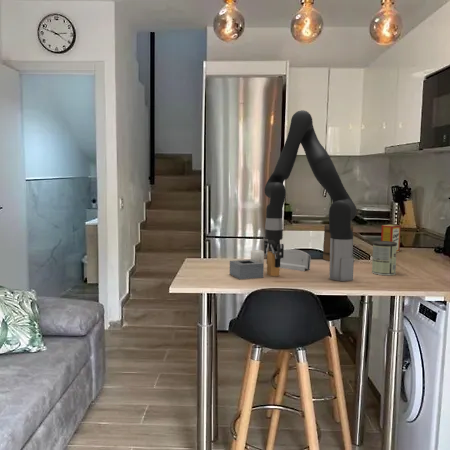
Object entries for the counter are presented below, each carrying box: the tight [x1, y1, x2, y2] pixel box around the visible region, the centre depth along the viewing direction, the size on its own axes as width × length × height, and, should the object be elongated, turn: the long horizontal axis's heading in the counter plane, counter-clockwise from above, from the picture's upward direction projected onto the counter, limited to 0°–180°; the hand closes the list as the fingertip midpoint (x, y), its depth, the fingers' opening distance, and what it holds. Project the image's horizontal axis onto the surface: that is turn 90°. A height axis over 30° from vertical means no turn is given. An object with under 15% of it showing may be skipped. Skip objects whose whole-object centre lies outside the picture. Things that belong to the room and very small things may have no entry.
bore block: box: [229, 259, 265, 280], centre depth 205 cm, size 11×11×6 cm
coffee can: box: [371, 240, 397, 276], centre depth 213 cm, size 10×10×14 cm
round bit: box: [250, 249, 265, 265], centre depth 218 cm, size 6×6×9 cm
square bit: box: [266, 252, 281, 277], centre depth 207 cm, size 4×4×10 cm
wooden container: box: [322, 223, 354, 262], centre depth 249 cm, size 15×15×22 cm
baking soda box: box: [380, 224, 401, 252], centre depth 278 cm, size 10×6×16 cm
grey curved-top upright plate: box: [280, 248, 312, 272], centre depth 224 cm, size 17×5×10 cm, turn 51°
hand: (273, 265), depth 207 cm, fingers open, 7 cm apart
